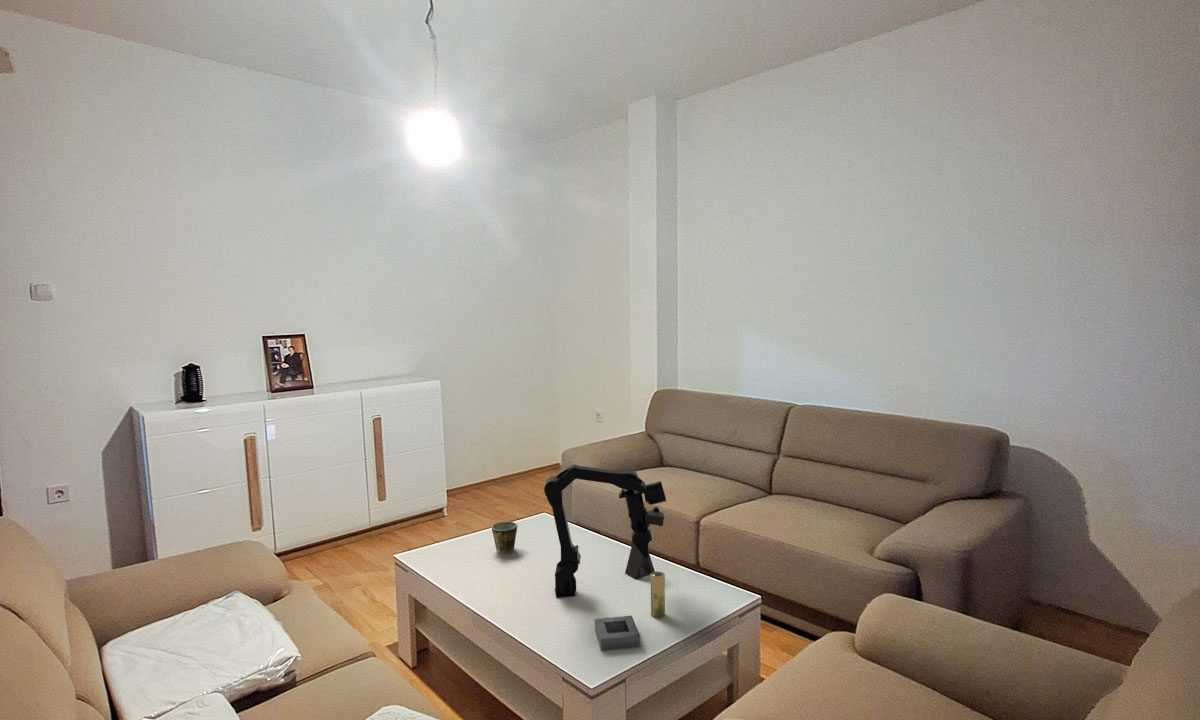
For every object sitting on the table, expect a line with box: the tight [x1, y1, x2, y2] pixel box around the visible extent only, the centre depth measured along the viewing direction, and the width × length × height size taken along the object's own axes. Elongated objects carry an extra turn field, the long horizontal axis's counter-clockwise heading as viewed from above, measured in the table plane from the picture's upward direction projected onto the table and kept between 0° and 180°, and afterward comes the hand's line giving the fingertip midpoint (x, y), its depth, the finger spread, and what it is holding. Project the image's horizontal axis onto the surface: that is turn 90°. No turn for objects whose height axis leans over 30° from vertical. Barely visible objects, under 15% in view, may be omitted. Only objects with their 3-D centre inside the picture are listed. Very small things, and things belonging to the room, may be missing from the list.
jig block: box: [594, 615, 641, 652], centre depth 180 cm, size 11×11×4 cm
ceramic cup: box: [491, 520, 518, 555], centre depth 243 cm, size 13×10×10 cm
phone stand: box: [624, 540, 656, 580], centre depth 222 cm, size 9×6×12 cm, turn 127°
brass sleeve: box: [650, 570, 666, 619], centre depth 192 cm, size 4×4×13 cm
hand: (645, 552), depth 207 cm, fingers open, 9 cm apart
